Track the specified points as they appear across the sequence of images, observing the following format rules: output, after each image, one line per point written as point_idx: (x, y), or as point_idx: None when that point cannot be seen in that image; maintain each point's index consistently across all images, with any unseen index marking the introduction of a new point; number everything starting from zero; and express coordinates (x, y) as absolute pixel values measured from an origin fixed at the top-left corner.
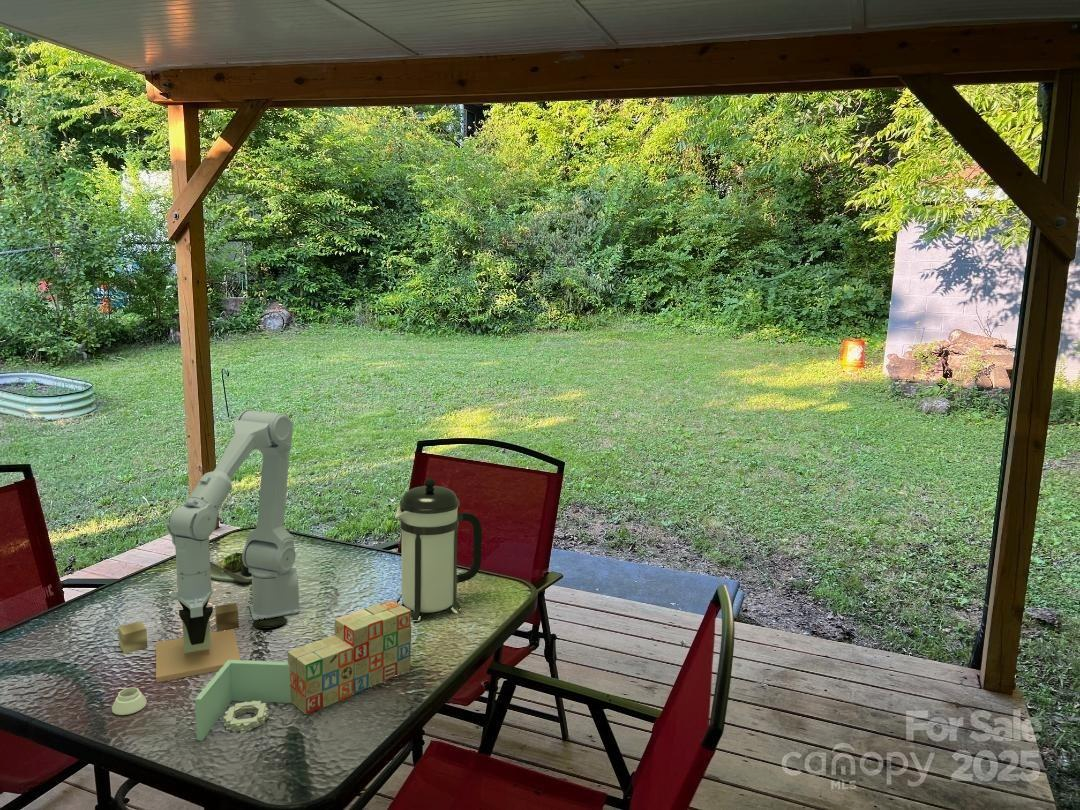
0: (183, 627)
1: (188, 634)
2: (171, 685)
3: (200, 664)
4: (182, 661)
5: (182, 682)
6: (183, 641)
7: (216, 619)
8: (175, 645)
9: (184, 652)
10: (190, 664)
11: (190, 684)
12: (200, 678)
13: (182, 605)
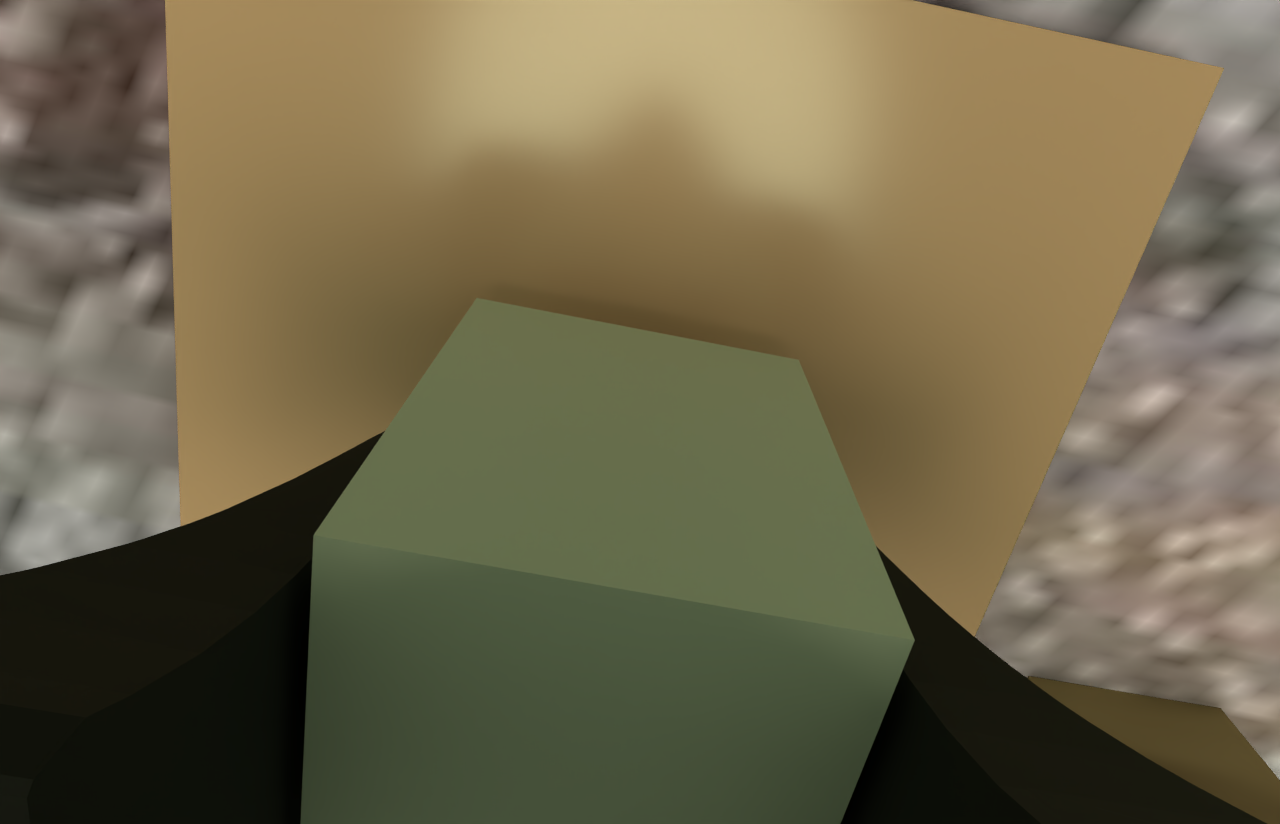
0: (358, 486)
1: (292, 481)
2: (67, 14)
3: (286, 391)
4: (456, 242)
5: (95, 142)
6: (684, 362)
7: (1168, 767)
8: (940, 266)
9: (476, 304)
10: (337, 302)
11: (19, 206)
12: (117, 322)
13: (995, 812)
